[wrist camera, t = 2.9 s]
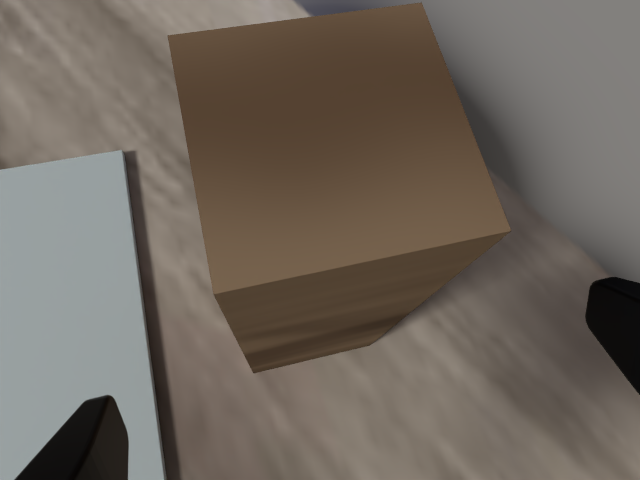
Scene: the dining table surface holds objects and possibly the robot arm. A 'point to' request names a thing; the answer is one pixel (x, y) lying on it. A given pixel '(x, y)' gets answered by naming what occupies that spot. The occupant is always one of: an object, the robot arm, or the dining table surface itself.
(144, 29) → the dining table surface
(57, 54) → the dining table surface
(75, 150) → the dining table surface
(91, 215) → the mat
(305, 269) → the walnut block
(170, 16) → the dining table surface
